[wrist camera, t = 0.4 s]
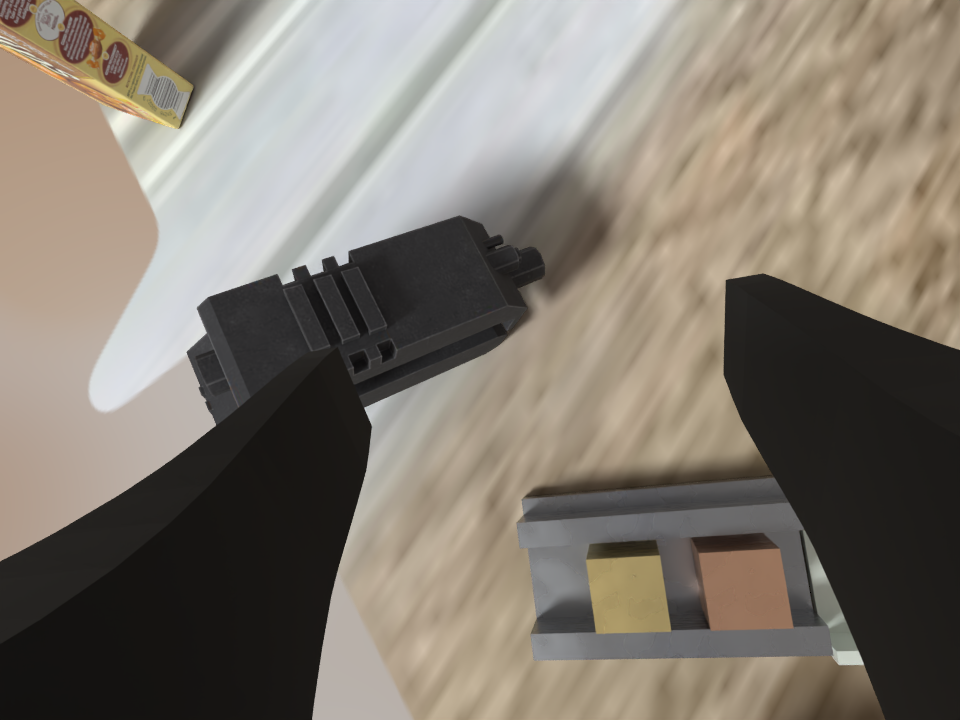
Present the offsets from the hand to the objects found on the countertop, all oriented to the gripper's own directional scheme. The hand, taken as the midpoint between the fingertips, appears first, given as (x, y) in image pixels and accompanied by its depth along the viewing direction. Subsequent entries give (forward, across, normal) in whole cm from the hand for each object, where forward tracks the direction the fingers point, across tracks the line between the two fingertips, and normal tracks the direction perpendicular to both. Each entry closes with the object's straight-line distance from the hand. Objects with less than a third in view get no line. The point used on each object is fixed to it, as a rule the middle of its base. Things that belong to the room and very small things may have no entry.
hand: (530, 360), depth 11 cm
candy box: (+42, +31, -4) cm, 52 cm away
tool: (+25, +10, +14) cm, 31 cm away
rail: (+13, -4, +26) cm, 30 cm away
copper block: (+12, -8, +25) cm, 29 cm away
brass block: (+13, -2, +26) cm, 29 cm away
